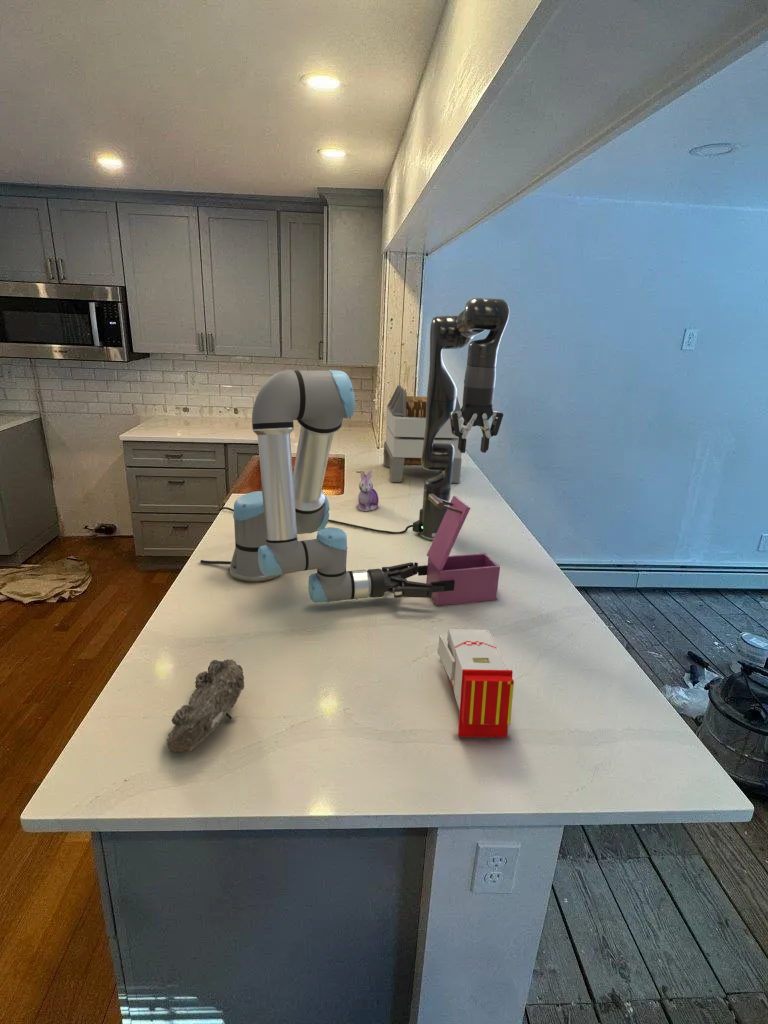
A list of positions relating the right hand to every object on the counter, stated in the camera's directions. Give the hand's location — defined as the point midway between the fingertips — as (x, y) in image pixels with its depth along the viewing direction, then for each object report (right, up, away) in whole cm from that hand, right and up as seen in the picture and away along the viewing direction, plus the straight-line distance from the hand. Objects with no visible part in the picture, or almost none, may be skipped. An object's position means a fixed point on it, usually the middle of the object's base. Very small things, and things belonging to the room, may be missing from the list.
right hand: (472, 451), depth 145 cm
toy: (-5, -53, -26) cm, 60 cm away
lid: (-5, -21, +6) cm, 22 cm away
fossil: (-55, -55, -37) cm, 86 cm away
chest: (-1, -39, +14) cm, 41 cm away
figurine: (-29, -14, +79) cm, 85 cm away
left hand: (-5, -33, +11) cm, 35 cm away
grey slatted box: (-5, +3, +130) cm, 130 cm away
